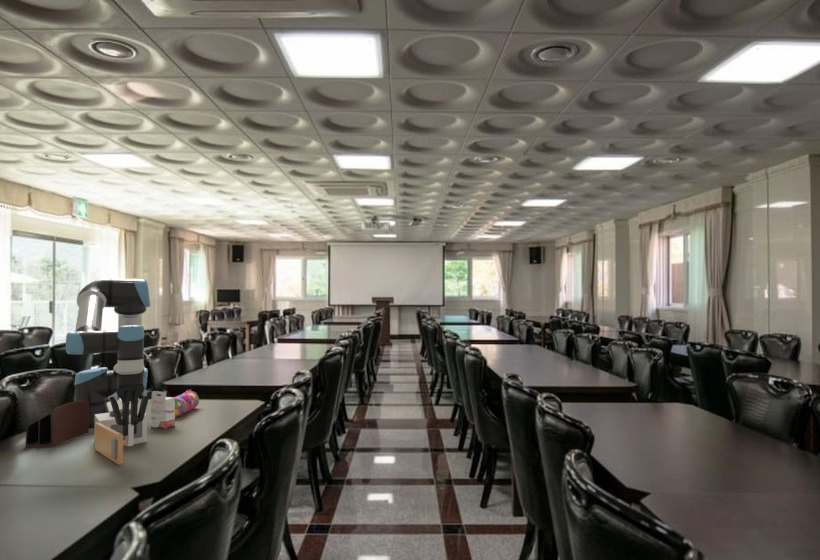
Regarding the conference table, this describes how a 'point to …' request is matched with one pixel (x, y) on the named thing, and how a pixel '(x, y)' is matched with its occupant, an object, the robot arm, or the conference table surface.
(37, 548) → the conference table surface
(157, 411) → the ink cartridge box
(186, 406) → the pencil case
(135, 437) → the camera housing
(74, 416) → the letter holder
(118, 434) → the side door
